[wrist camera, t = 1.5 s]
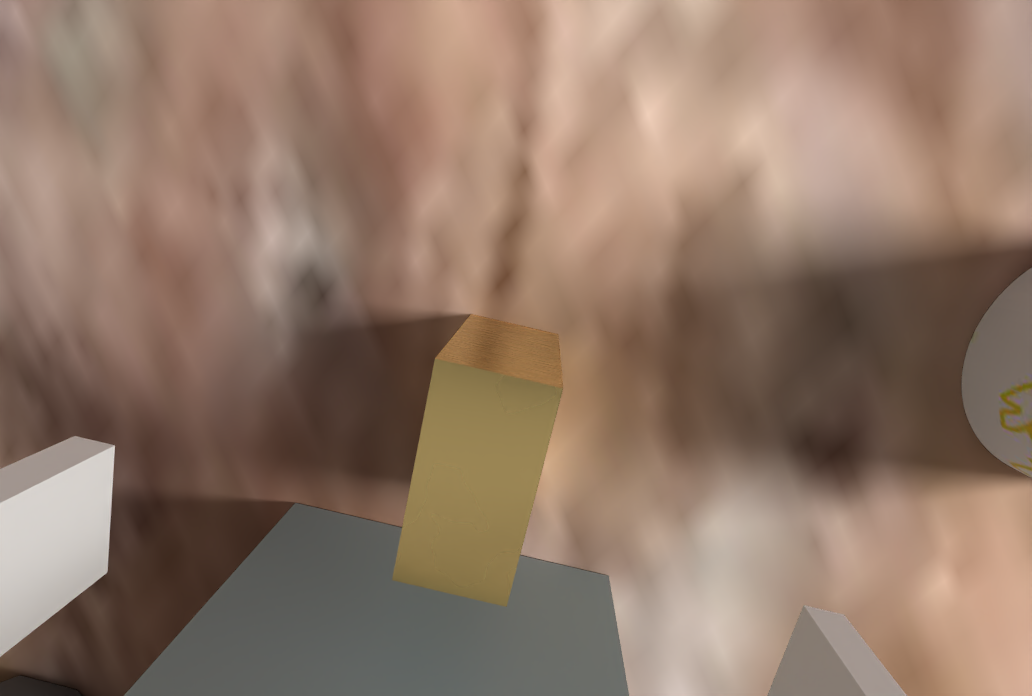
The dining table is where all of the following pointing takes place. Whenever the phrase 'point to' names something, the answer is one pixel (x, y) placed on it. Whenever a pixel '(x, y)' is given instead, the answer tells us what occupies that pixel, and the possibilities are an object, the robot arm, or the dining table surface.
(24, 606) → the robot arm
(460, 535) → the block
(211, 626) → the open-top box
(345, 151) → the dining table surface
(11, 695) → the liquor
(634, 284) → the dining table surface
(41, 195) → the dining table surface
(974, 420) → the cup
